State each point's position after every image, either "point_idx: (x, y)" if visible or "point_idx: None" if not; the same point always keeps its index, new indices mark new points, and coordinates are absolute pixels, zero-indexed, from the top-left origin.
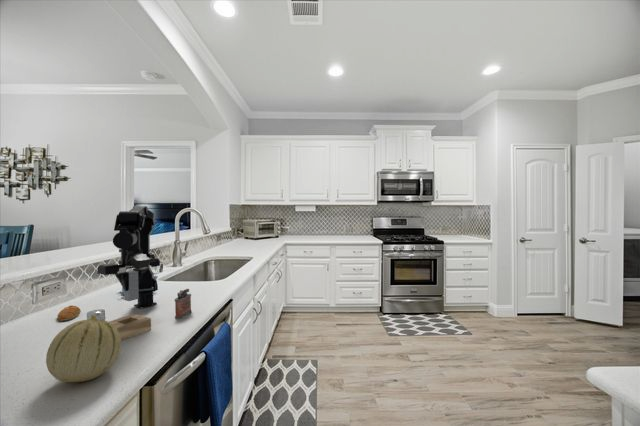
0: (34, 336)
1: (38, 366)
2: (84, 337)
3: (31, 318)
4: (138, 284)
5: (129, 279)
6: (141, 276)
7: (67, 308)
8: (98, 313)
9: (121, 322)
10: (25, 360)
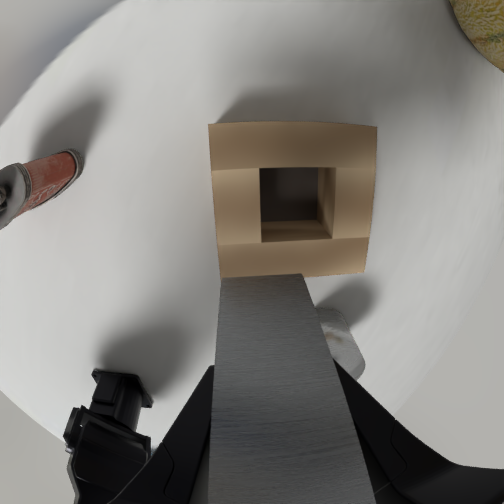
0: (399, 375)
1: (495, 185)
2: None
3: None
4: (199, 395)
5: (355, 454)
6: (151, 474)
7: None
8: (345, 352)
9: (307, 235)
10: (484, 248)
